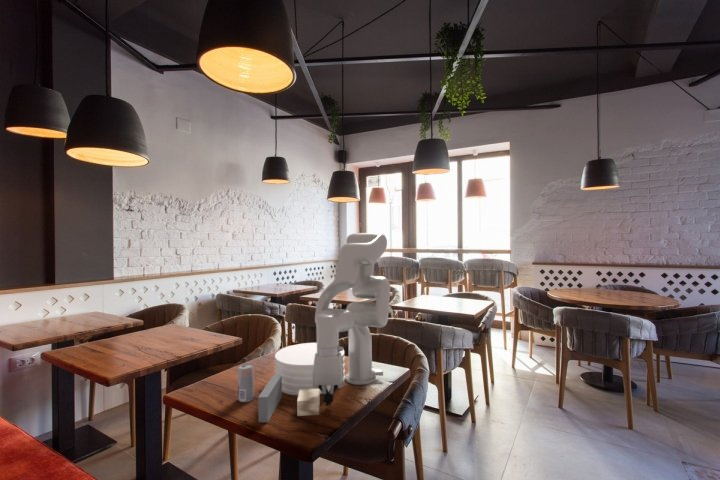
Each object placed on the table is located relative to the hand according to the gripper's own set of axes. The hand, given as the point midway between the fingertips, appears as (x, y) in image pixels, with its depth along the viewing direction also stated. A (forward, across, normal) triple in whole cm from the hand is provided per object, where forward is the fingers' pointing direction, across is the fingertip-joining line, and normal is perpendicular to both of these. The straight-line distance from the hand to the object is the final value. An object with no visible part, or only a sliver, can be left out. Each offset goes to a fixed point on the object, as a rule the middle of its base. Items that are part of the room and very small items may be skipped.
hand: (328, 404), depth 120 cm
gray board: (+2, +20, 0) cm, 20 cm away
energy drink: (+2, +31, -7) cm, 32 cm away
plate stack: (+2, +10, -24) cm, 26 cm away
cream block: (+2, +7, 0) cm, 7 cm away
